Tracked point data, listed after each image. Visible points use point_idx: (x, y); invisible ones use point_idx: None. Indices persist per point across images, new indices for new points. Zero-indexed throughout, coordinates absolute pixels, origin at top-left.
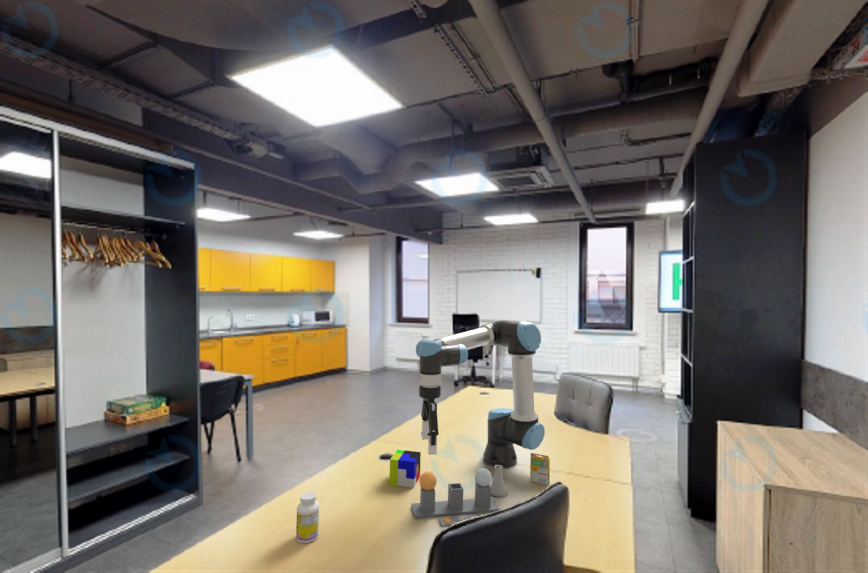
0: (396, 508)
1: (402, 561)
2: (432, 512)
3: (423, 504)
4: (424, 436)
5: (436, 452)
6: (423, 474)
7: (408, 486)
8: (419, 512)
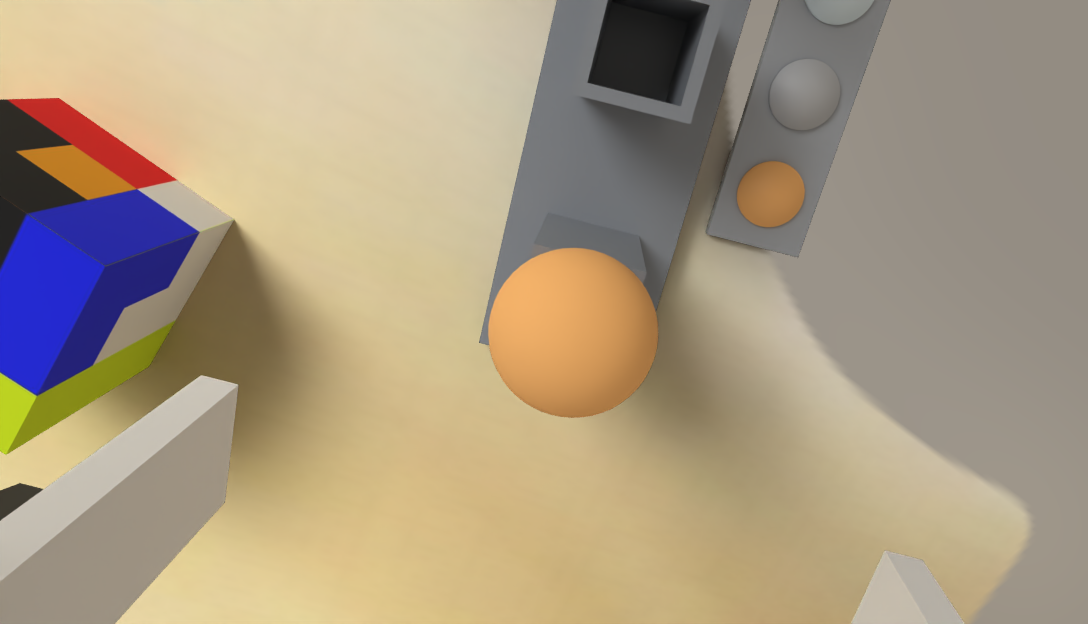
0: (470, 430)
1: (969, 573)
2: (644, 256)
3: None
4: (198, 496)
5: (937, 584)
6: (562, 404)
7: (212, 255)
8: None
